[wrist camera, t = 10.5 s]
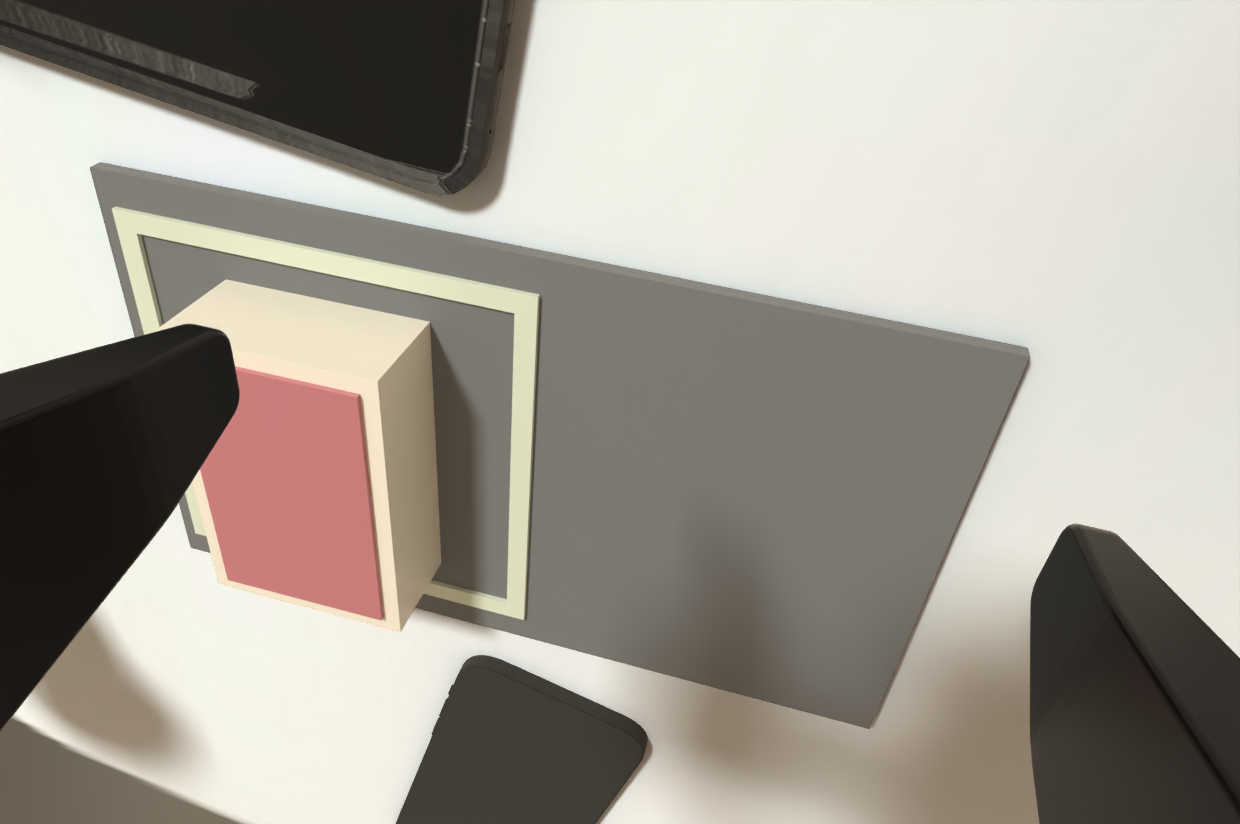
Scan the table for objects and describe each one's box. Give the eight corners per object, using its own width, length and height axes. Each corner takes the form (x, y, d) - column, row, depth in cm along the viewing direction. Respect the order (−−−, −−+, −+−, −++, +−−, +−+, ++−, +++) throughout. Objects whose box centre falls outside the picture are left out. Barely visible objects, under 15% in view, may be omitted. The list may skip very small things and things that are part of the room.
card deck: (441, 562, 29) (398, 636, 26) (273, 520, 30) (215, 587, 27) (429, 321, 23) (374, 384, 21) (225, 279, 24) (149, 334, 22)
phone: (388, 837, 40) (463, 656, 31) (396, 820, 41) (472, 638, 32) (536, 905, 40) (655, 744, 31) (542, 887, 41) (660, 724, 32)
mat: (1027, 347, 20) (1031, 359, 20) (869, 718, 28) (869, 732, 28) (100, 162, 24) (85, 168, 23) (197, 540, 32) (188, 550, 31)
